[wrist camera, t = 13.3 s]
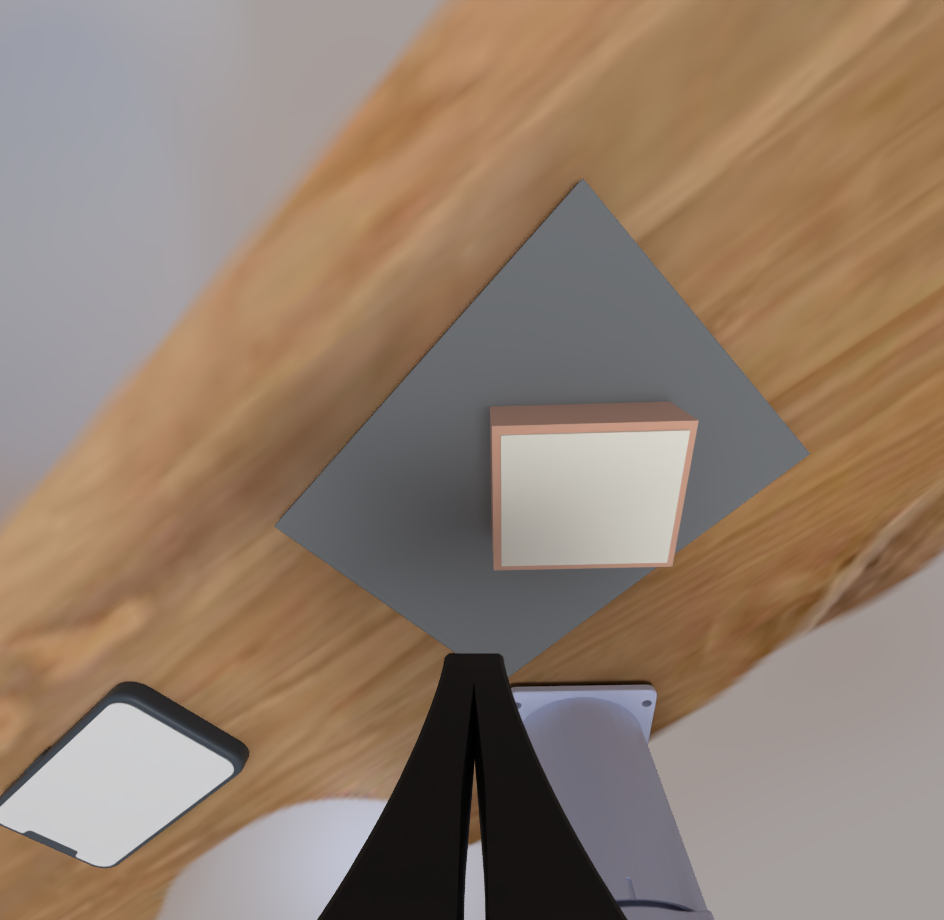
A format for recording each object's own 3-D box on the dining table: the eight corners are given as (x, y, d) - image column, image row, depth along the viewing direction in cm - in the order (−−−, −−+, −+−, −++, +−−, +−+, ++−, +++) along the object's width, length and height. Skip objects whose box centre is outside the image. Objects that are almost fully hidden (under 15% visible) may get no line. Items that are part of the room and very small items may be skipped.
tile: (491, 536, 20) (649, 533, 19) (493, 572, 17) (674, 568, 17) (489, 406, 17) (669, 401, 17) (491, 427, 15) (700, 422, 15)
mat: (578, 182, 15) (582, 178, 14) (800, 448, 18) (810, 453, 18) (279, 519, 20) (274, 526, 19) (499, 673, 24) (499, 683, 23)
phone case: (135, 663, 24) (2, 789, 29) (113, 688, 23) (-24, 818, 27) (264, 741, 27) (125, 847, 31) (252, 768, 26) (108, 875, 30)
